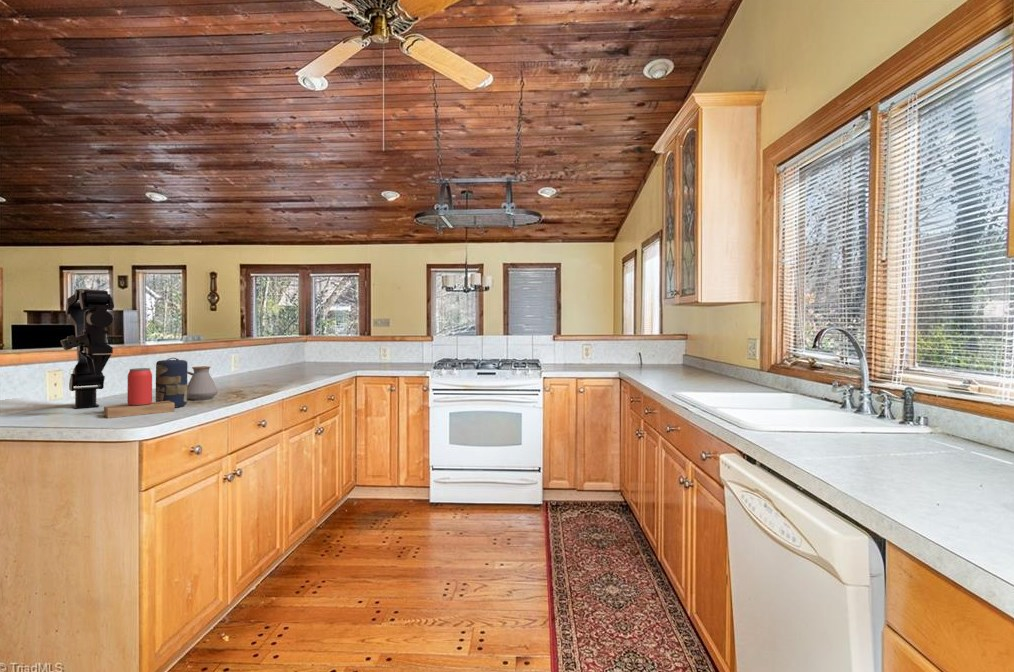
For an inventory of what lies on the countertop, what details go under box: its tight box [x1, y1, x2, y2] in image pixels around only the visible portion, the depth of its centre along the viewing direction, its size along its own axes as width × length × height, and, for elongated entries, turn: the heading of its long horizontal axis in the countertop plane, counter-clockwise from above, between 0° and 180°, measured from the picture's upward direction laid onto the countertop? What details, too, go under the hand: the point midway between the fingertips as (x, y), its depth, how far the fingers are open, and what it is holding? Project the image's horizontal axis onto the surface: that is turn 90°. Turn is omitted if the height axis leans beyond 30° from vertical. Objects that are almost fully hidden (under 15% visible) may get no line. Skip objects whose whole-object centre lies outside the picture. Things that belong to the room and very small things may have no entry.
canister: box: [155, 357, 188, 408], centre depth 175 cm, size 10×10×18 cm
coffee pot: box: [187, 366, 218, 401], centre depth 194 cm, size 21×12×15 cm, turn 98°
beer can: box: [126, 367, 153, 406], centre depth 162 cm, size 7×7×12 cm
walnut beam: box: [103, 401, 176, 419], centre depth 162 cm, size 6×18×3 cm, turn 139°
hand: (94, 374), depth 161 cm, fingers open, 9 cm apart
